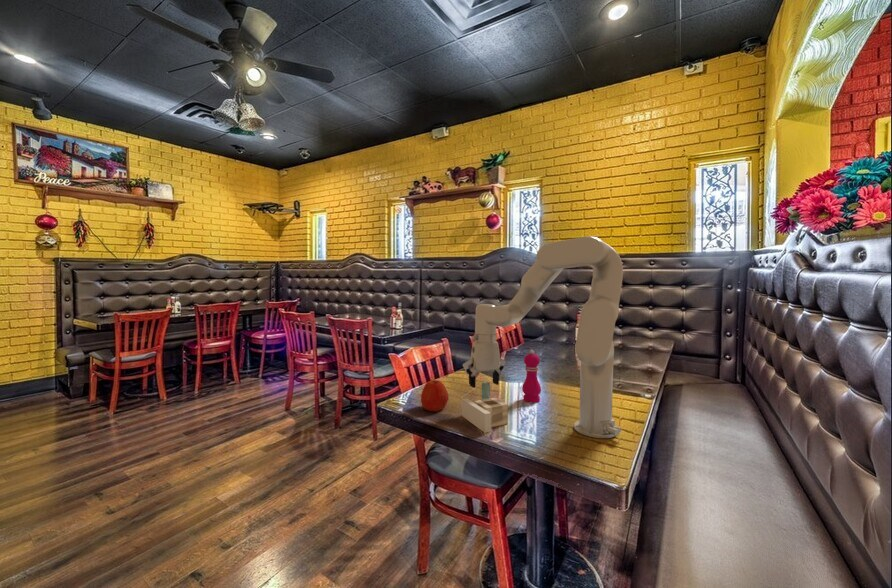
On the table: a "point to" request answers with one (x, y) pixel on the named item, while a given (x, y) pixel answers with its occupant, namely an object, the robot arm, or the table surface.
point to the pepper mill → (531, 378)
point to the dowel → (485, 390)
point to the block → (495, 410)
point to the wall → (476, 415)
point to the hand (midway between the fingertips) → (484, 385)
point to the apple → (434, 396)
